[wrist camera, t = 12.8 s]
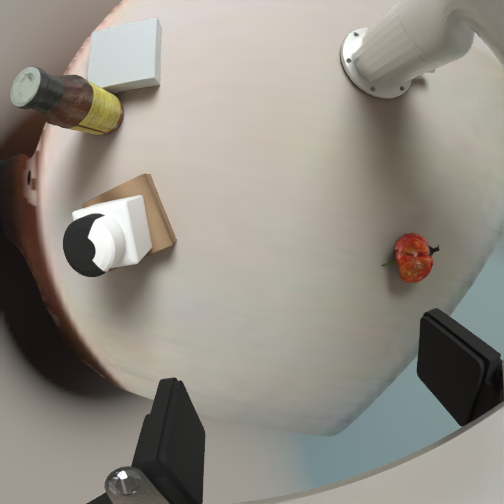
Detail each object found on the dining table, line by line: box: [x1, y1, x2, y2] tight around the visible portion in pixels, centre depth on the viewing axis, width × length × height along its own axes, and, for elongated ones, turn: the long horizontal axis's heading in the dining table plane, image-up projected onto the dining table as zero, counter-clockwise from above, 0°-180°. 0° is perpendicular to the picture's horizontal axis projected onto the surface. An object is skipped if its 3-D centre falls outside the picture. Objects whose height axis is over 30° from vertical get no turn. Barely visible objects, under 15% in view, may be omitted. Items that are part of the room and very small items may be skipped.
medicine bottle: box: [63, 195, 152, 277], centre depth 32 cm, size 7×7×12 cm
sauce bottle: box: [10, 67, 124, 135], centre depth 27 cm, size 7×6×20 cm
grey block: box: [87, 18, 162, 94], centre depth 34 cm, size 10×10×4 cm
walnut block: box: [82, 174, 177, 272], centre depth 39 cm, size 10×10×4 cm
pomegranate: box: [382, 233, 439, 283], centre depth 42 cm, size 7×7×10 cm
